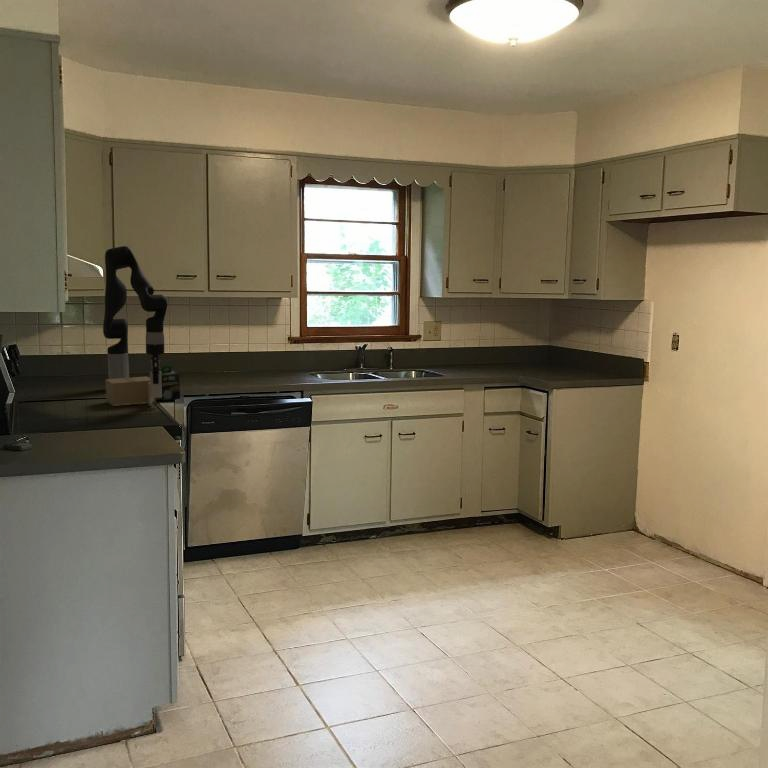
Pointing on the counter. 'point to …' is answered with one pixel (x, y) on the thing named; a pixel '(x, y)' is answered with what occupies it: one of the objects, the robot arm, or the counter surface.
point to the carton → (127, 390)
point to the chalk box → (170, 384)
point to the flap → (154, 388)
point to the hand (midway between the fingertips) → (155, 383)
